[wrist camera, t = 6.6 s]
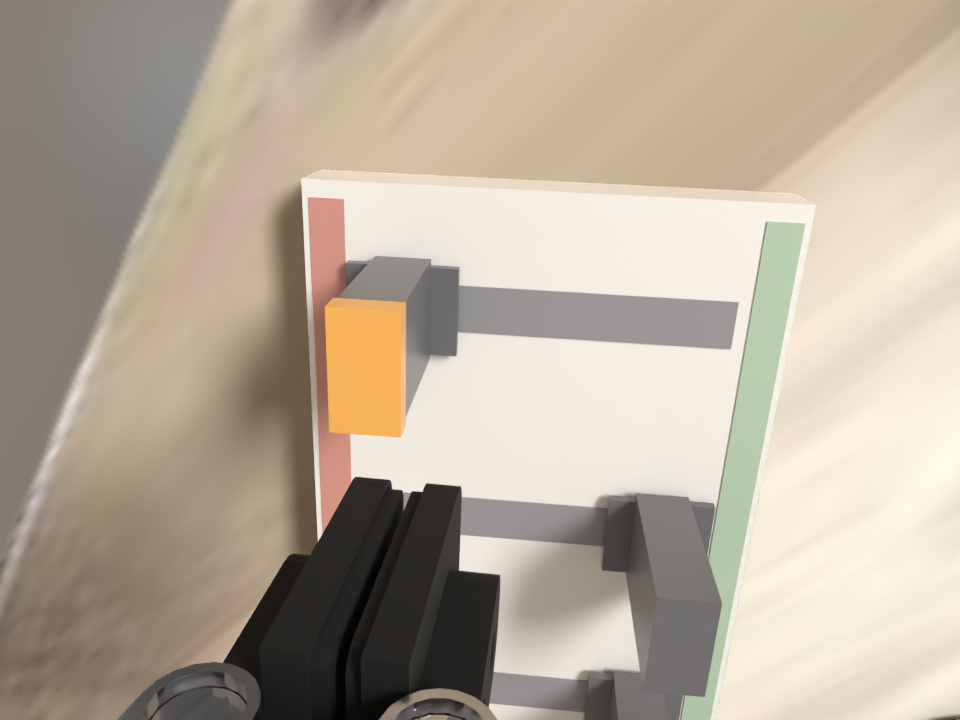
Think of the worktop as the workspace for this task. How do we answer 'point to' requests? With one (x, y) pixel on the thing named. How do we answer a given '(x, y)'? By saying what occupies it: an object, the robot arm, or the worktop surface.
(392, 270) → the breaker
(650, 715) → the breaker
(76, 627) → the worktop surface
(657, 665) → the breaker
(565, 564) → the breaker panel
